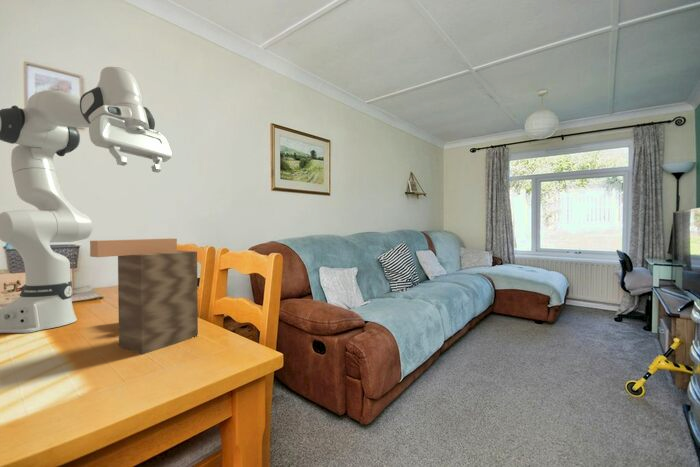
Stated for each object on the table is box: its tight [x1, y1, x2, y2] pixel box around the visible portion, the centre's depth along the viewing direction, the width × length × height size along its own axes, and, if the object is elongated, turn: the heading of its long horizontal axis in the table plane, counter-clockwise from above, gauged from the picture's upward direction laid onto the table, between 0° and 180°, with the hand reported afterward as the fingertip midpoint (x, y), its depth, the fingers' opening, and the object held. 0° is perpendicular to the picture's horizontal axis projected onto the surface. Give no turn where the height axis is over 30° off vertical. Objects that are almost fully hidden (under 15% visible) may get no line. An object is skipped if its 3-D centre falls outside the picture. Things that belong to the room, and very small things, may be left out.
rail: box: [89, 237, 178, 258], centre depth 87 cm, size 20×4×4 cm, turn 150°
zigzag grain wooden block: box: [117, 249, 199, 355], centre depth 92 cm, size 16×12×26 cm
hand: (140, 168), depth 85 cm, fingers open, 8 cm apart
